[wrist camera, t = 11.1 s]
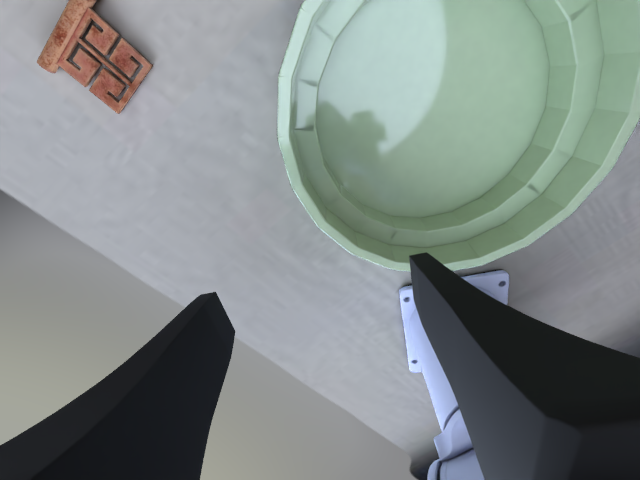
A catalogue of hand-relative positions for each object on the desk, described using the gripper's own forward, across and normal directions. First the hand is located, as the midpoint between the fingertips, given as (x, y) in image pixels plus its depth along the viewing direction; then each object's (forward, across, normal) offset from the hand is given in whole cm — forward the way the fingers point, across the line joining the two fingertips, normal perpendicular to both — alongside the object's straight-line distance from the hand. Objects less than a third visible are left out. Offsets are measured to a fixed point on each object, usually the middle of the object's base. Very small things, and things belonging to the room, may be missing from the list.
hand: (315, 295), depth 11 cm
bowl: (+10, -7, -4) cm, 13 cm away
